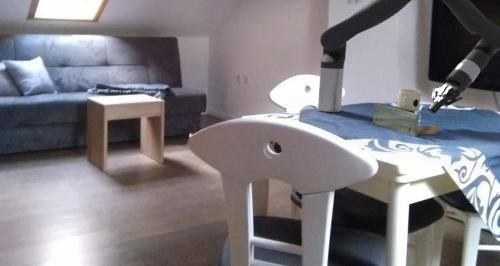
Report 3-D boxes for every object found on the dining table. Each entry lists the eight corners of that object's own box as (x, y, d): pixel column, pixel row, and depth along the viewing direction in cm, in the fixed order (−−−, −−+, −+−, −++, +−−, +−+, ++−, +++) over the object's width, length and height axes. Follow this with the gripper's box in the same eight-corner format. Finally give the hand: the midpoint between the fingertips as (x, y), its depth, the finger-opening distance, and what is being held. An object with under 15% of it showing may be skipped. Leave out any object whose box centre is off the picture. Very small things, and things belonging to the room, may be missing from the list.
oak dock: (414, 136, 152) (416, 114, 151) (372, 123, 172) (374, 103, 171) (442, 134, 156) (444, 113, 155) (398, 121, 176) (400, 102, 175)
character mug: (411, 133, 158) (415, 93, 155) (390, 129, 162) (393, 91, 159) (421, 128, 166) (425, 90, 163) (401, 125, 170) (404, 88, 167)
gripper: (444, 66, 173) (412, 101, 171) (472, 69, 161) (439, 107, 159) (453, 81, 176) (423, 115, 174) (482, 85, 164) (450, 122, 162)
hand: (431, 111), depth 167 cm, fingers closed
